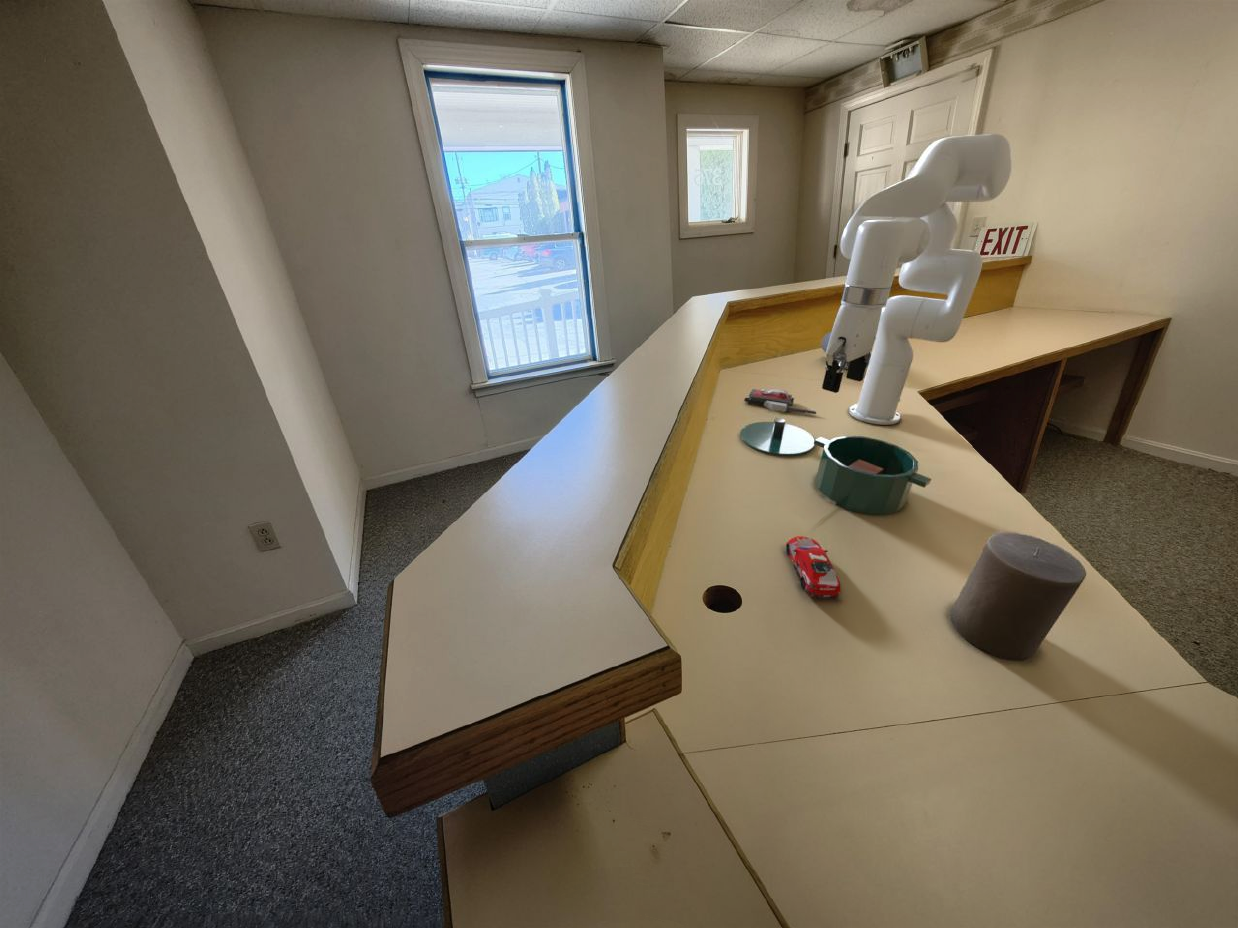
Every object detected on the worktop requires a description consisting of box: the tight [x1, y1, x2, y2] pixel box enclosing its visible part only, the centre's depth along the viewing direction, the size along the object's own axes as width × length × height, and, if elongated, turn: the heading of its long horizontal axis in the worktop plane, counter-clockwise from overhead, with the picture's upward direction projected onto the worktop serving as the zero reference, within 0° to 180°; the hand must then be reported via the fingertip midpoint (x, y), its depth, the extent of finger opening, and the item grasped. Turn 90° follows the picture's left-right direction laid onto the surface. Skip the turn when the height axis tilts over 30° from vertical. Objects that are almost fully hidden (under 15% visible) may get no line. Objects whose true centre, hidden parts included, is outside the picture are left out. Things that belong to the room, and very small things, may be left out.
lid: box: [739, 417, 816, 457], centre depth 111 cm, size 18×18×6 cm
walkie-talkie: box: [743, 388, 817, 415], centre depth 130 cm, size 9×4×20 cm
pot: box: [814, 435, 932, 516], centre depth 91 cm, size 17×22×8 cm
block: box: [849, 459, 884, 475], centre depth 92 cm, size 5×5×5 cm
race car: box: [785, 535, 842, 600], centre depth 72 cm, size 13×5×4 cm, turn 177°
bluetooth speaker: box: [820, 331, 872, 370], centre depth 162 cm, size 23×9×10 cm, turn 179°
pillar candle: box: [950, 531, 1087, 661], centre depth 59 cm, size 10×10×15 cm
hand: (842, 385), depth 91 cm, fingers open, 9 cm apart
